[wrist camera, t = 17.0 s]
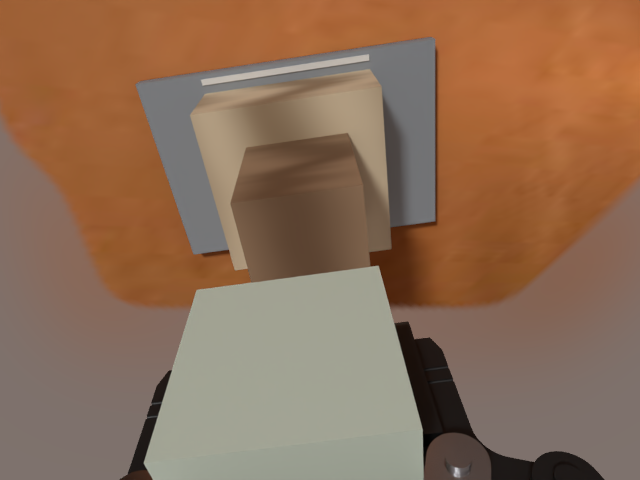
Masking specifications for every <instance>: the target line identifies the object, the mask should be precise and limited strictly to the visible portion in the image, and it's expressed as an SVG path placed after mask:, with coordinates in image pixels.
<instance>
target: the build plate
mask: <svg viewBox="0 0 640 480" xmlns="http://www.w3.org/2000/svg"><path fill="white" fill-rule="evenodd" d="M367 69H370V70H371V72H372V73H373V74H374V76H375V77H376V79H377V80H378V82H379V83H380V85H381V86H382V100H383V117H384V133H385V149H386V165H387V182H388V198H389V214H390V227H397V226H404V225H411V224H419V223H426V222H433V221H435V39H434V38H432V37H428V38H421V39H414V40H408V41H401V42H395V43H388V44H382V45H375V46H368V47H362V48H355V49H349V50H342V51H336V52H329V53H323V54H316V55H309V56H303V57H296V58H290V59H283V60H277V61H270V62H263V63H257V64H250V65H244V66H237V67H231V68H224V69H218V70H211V71H204V72H198V73H191V74H185V75H178V76H172V77H165V78H158V79H152V80H145V81H140V82H139V83H137V84H136V87H137V90H138V93H139V96H140V99H141V102H142V105H143V108H144V111H145V113H146V116H147V119H148V122H149V125H150V128H151V131H152V134H153V137H154V140H155V143H156V146H157V149H158V152H159V154H160V157H161V160H162V163H163V166H164V169H165V172H166V175H167V178H168V181H169V184H170V187H171V190H172V192H173V195H174V198H175V201H176V204H177V207H178V210H179V213H180V216H181V219H182V222H183V225H184V228H185V231H186V233H187V236H188V239H189V242H190V245H191V248H192V251H193V254H201V253H208V252H215V251H223V250H229V248H228V245H227V241H226V238H225V234H224V231H223V228H222V224H221V221H220V217H219V214H218V210H217V207H216V203H215V200H214V196H213V193H212V190H211V186H210V183H209V179H208V176H207V172H206V169H205V165H204V162H203V159H202V155H201V152H200V148H199V145H198V141H197V138H196V134H195V131H194V128H193V124H192V121H191V117H190V114H191V113H192V111H193V110H194V109H195V107H196V106H197V104H198V103H199V102H200V100H201V99H202V97H203V96H204V95H205V94H208V93H214V92H221V91H228V90H234V89H241V88H248V87H254V86H261V85H267V84H274V83H281V82H287V81H294V80H301V79H307V78H314V77H321V76H327V75H334V74H340V73H347V72H354V71H360V70H367Z"/></svg>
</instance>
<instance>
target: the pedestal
mask: <svg viewBox="0 0 640 480" xmlns="http://www.w3.org/2000/svg"><path fill="white" fill-rule="evenodd" d="M190 117H191V121H192V124H193V128H194V131H195V134H196V138H197V141H198V145H199V148H200V152H201V155H202V159H203V162H204V165H205V169H206V172H207V176H208V179H209V183H210V186H211V190H212V193H213V196H214V200H215V203H216V207H217V210H218V214H219V217H220V221H221V224H222V228H223V231H224V234H225V238H226V241H227V245H228V248H229V252H230V255H231V259H232V262H233V265H234V269H235V270H241V269H248V268H247V264H246V260H245V257H244V253H243V249H242V245H241V242H240V238H239V234H238V231H237V227H236V223H235V219H234V216H233V212H232V208H231V205H230V202H231V199H232V195H233V192H234V188H235V185H236V181H237V178H238V174H239V171H240V167H241V163H242V160H243V156H244V153H245V149H246V147H253V146H260V145H267V144H274V143H281V142H288V141H295V140H302V139H308V138H315V137H322V136H329V135H336V134H343V133H348V135H349V139H350V142H351V146H352V149H353V152H354V156H355V159H356V163H357V166H358V170H359V173H360V176H361V180H362V183H363V191H364V202H365V213H366V223H367V234H368V245H369V252H374V251H381V250H388V249H392V247H391V230H390V214H389V198H388V182H387V165H386V149H385V133H384V117H383V100H382V86H381V85H380V83H379V82H378V80H377V79H376V77H375V76H374V74H373V73H372V72H371V70H370V69H367V70H360V71H354V72H347V73H340V74H334V75H327V76H321V77H314V78H307V79H301V80H294V81H287V82H281V83H274V84H267V85H261V86H254V87H248V88H241V89H234V90H228V91H221V92H214V93H208V94H205V95H204V96H203V97H202V99H201V100H200V102H199V103H198V104H197V106H196V107H195V109H194V110H193V111H192V113H191V114H190Z"/></svg>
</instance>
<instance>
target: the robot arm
mask: <svg viewBox="0 0 640 480" xmlns="http://www.w3.org/2000/svg"><path fill="white" fill-rule="evenodd" d="M394 325H395V328H396V332H397V336H398V339H399V343H400V347H401V351H402V354H403V358H404V362H405V366H406V369H407V373H408V377H409V380H410V384H411V388H412V392H413V395H414V399H415V403H416V406H417V410H418V414H419V418H420V421H421V425H422V429H423V470H424V478H423V480H604V479H603V478H602V476H601V475H600V474H599V473H598V472H597V471H596V470H595V469H594V468H593V467H592V466H591V465H590V464H589V463H587V462H586V461H585V460H583V459H581V458H579V457H577V456H575V455H573V454H570V453H566V452H557V451H555V452H549V453H545V454H543V455H541V456H540V457H539V458H537V460H536V461H535V462H530V461H525V460H520V459H514V458H510V457H505V456H502V455H499V454H497V453H495V452H493V451H491V450H490V449H488V448H487V447H485V446H484V445H483V444H482V443H481V442H480V441H479V440H478V439H477V437H476V436H475V434H474V433H473V431H472V428H471V426H470V423H469V420H468V418H467V415H466V413H465V410H464V407H463V404H462V402H461V399H460V397H459V394H458V391H457V388H456V386H455V383H454V382H453V378H452V375H451V373H450V370H449V369H448V365H447V362H446V359H445V357H444V354H443V351H442V350H441V348H439V346H438V345H437V344H436V343H435V342H434V341H432V339H430V338H423V339H414V337H413V334H412V331H411V328H410V325H409V322H401V323H394ZM171 372H172V370H171V371H168V372H167V374H166V375H165V377H164V378H163V379H162V380H161V381H160V383H159V384H158V385H157V387H156V390H155V393H154V397H153V399H152V406H150V408H149V411H148V414H147V419H146V421H145V424H144V426H143V430H142V433H141V436H140V439H139V442H138V445H137V448H136V451H135V454H134V457H133V460H132V463H131V466H130V469H129V472H128V474H127V475H126V476H124V477H123V478H121V479H120V480H153V479H152V477H151V475H150V473H149V472H148V470H147V468H146V467H145V465H144V460H145V457H146V454H147V450H148V447H149V444H150V441H151V437H152V434H153V431H154V428H155V424H156V421H157V418H158V415H159V411H160V408H161V405H162V402H163V398H164V395H165V392H166V389H167V385H168V382H169V379H170V375H171Z"/></svg>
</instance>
